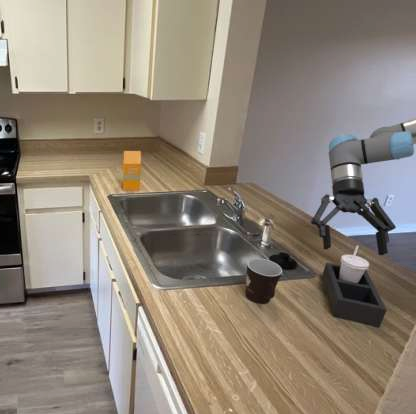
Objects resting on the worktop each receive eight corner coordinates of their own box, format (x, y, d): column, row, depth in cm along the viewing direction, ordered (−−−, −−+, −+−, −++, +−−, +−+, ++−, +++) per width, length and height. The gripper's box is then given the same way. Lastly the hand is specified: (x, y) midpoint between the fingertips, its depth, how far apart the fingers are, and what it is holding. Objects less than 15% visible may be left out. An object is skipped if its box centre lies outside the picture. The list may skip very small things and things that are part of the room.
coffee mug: (243, 283, 99) (249, 255, 95) (275, 293, 95) (283, 263, 91) (236, 306, 90) (243, 275, 86) (271, 317, 86) (280, 286, 82)
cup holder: (360, 285, 98) (366, 270, 96) (379, 327, 83) (386, 309, 80) (321, 277, 102) (326, 262, 100) (332, 316, 86) (338, 299, 84)
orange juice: (122, 185, 181) (123, 149, 173) (138, 185, 181) (140, 149, 173) (123, 190, 174) (124, 152, 166) (139, 190, 173) (141, 152, 165)
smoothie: (336, 279, 100) (350, 238, 94) (361, 289, 95) (378, 247, 90) (328, 287, 96) (342, 246, 90) (354, 299, 91) (371, 255, 86)
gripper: (387, 191, 100) (398, 259, 93) (296, 185, 106) (300, 249, 99) (404, 180, 94) (417, 252, 86) (306, 174, 99) (310, 242, 92)
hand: (354, 251), depth 92 cm, fingers open, 13 cm apart
